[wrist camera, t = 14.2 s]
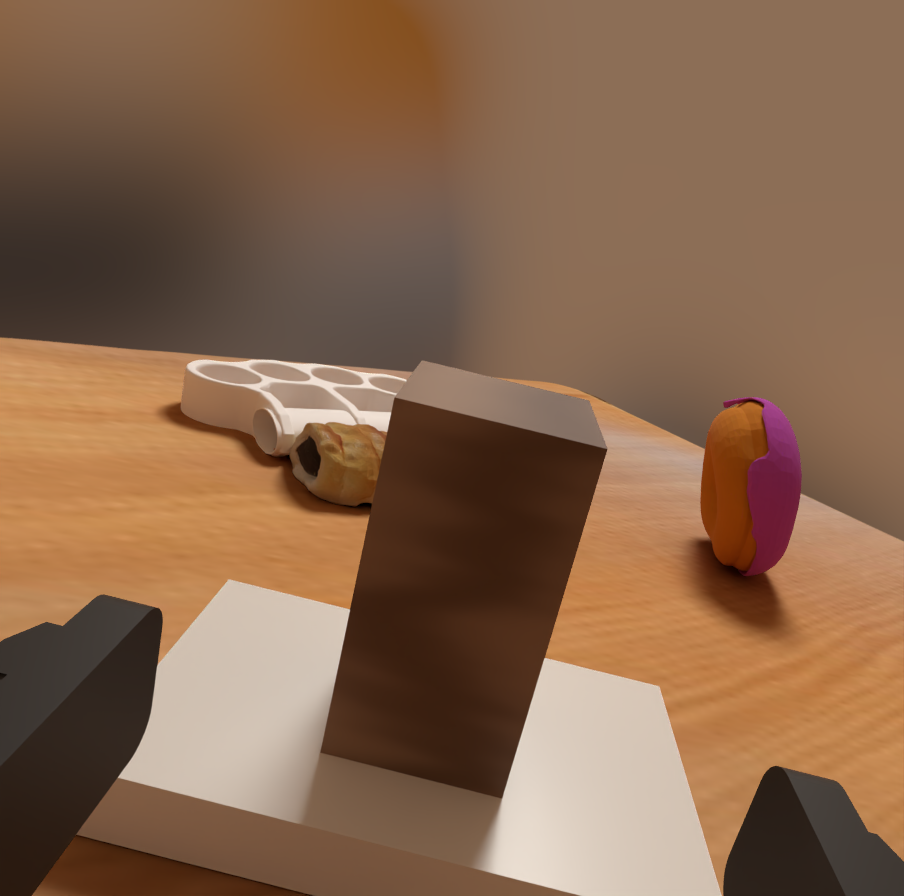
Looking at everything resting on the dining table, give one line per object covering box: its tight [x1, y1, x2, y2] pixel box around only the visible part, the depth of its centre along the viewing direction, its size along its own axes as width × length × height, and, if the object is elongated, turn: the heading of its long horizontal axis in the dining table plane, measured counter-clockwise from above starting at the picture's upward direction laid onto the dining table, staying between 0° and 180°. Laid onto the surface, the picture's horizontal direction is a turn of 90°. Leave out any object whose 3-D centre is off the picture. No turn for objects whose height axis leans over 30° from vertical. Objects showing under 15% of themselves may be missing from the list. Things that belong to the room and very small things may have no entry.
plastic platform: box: [76, 580, 721, 896], centre depth 23 cm, size 16×10×2 cm, turn 85°
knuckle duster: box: [180, 360, 407, 457], centre depth 54 cm, size 3×18×15 cm
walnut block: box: [320, 361, 607, 798], centre depth 21 cm, size 5×5×10 cm
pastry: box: [290, 422, 387, 507], centre depth 45 cm, size 9×7×4 cm
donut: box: [700, 397, 802, 576], centre depth 45 cm, size 8×9×10 cm
